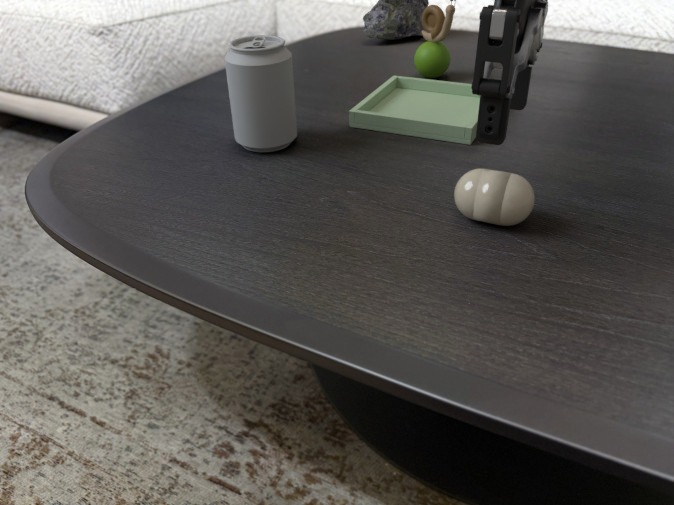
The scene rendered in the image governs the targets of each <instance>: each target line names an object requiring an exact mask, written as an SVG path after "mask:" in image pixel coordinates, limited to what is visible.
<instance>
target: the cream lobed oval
mask: <svg viewBox="0 0 674 505" xmlns="http://www.w3.org/2000/svg"><path fill="white" fill-rule="evenodd" d="M453 200H454V203H455V206H456V209H457V210H458V211H459V212H460V214H462V215H463V216H464V217H466V218H467V219H469V220H472V221H477V222H481V223H486V224H492V225H496V226H502V227H510V226H511V227H512V226H515V225H518V224H521V223H522V222H524V221H525V220H526V219H528V217H529V216H530V215H531V213H532V212H533V210H534V207H535V203H536V195H535V190H534V187H533V186H532V184H531V183H530V182H529V180H528V179H526V178H525V177H524V176H523V175H521V174H518V173H514V172H509V171H503V170H498V169H492V168H483V167H478V168H473V169H471V170H469V171H466V172H465V173H464V174H462V176H461V177H460V178H459V179H458V180H457V182H456V184H455V187H454V191H453Z"/></svg>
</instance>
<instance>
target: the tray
mask: <svg viewBox="0 0 674 505" xmlns="http://www.w3.org/2000/svg"><path fill="white" fill-rule="evenodd" d="M471 86H472V83H465V82H457V81H446V80H437V79H431V78H421V77H411V76H403V75H395V74H394V75H392V76H391V77H390V78H388V79H387V80H386V81H385V82H383V83H382V84H381V85H379V87H377V88H376V89H374V90H373V91H372V92H371V93H370V94H369V95H367V96H366V97H364V99H362V100H361V101H359V103H357V104H356V105H355V106H353V107H352V108H351V109H350V110H348V123H349V125H348V127H349V128H356V129H361V130H369V131H375V132H382V133H389V134H396V135H401V136H408V137H409V136H410V137H416V138H421V139H429V140H435V141H442V142H449V143H455V144H461V145H469V146H471V145H472V143H473V142H474V141H475V139H476V131H477V121H478V112H479V103H480V96H478V95H475V94H472V89H471Z"/></svg>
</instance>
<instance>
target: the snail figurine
mask: <svg viewBox="0 0 674 505" xmlns="http://www.w3.org/2000/svg"><path fill="white" fill-rule="evenodd" d="M449 1H450V2H451V3H450V4H447V6H446V7H445V11H443V10H442V8H441V7H440V6H439V5H436V4H429V5H428V7H427V8H426V9H425V10H424V12H423V15H422V24H423V27H424V29H425V30H426V31H424V30H422V35H423V36H422V37H423V39H424V40H426V41H424V42H423V43H421V44H420V45H419V46H418V47H417V49H416V51H415V52H414V58H413V63H414V67H415V69H416V72H418V74H420V75H421V76H423V77H424V78H426V79H436V78H439V77H441V76H443V75H444V74H445V73H446V72H447V70H448V69H449V68H450V65H451V61H452V60H451V59H452V57H451V51H450V50H449V48H448V47H447V45H446V44H445V43H443V41H445V40H446V39H447V38H448V36H449V34H450V32H451V29H452V25H453V21H454V15H455V12H456V7H455V6H456V4H454V5H453V2H457V0H449ZM444 12H445V13H444Z"/></svg>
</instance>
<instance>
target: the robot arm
mask: <svg viewBox="0 0 674 505" xmlns="http://www.w3.org/2000/svg"><path fill="white" fill-rule="evenodd" d="M548 12H549V1H548V0H494V2H493V4H488V5H487V6H482V8H481V11H480V12H479V18H478V19H479V26H478V33H477V34H478V35H477V44H476V50H475V51H476V52H475V60H474V61H475V62H474V70H473V78H472V83H471V84H472V86H471V89H472V94H475V95H478V96H480V103H479V112H478V121H477V131H476V138H475V139H476V141H477V142H478V143H481V144H485V145H486V144H488V145H492V146H494V145H495V146H501V145H502V144H504V142H505V140H506V139H507V133H508V132H507V131H508V125H509V116H510V111H511V110H514V111H515V110H516V111H523V110H524V109H525V108H526V106H527V103H528V98H529V92H530V91H529V90H530V85H531V78H532V72H533V66H534V65H535V64H536V62H537V61H538V57H539V55H538V53H540V51H541V49H542V48H543V38H544V34H545V22H546V19H547V15H548ZM495 69H498V70H502V71H501V78H500V79H495V78H491V76H492V75H491V74H492V72H493V70H495Z"/></svg>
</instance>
